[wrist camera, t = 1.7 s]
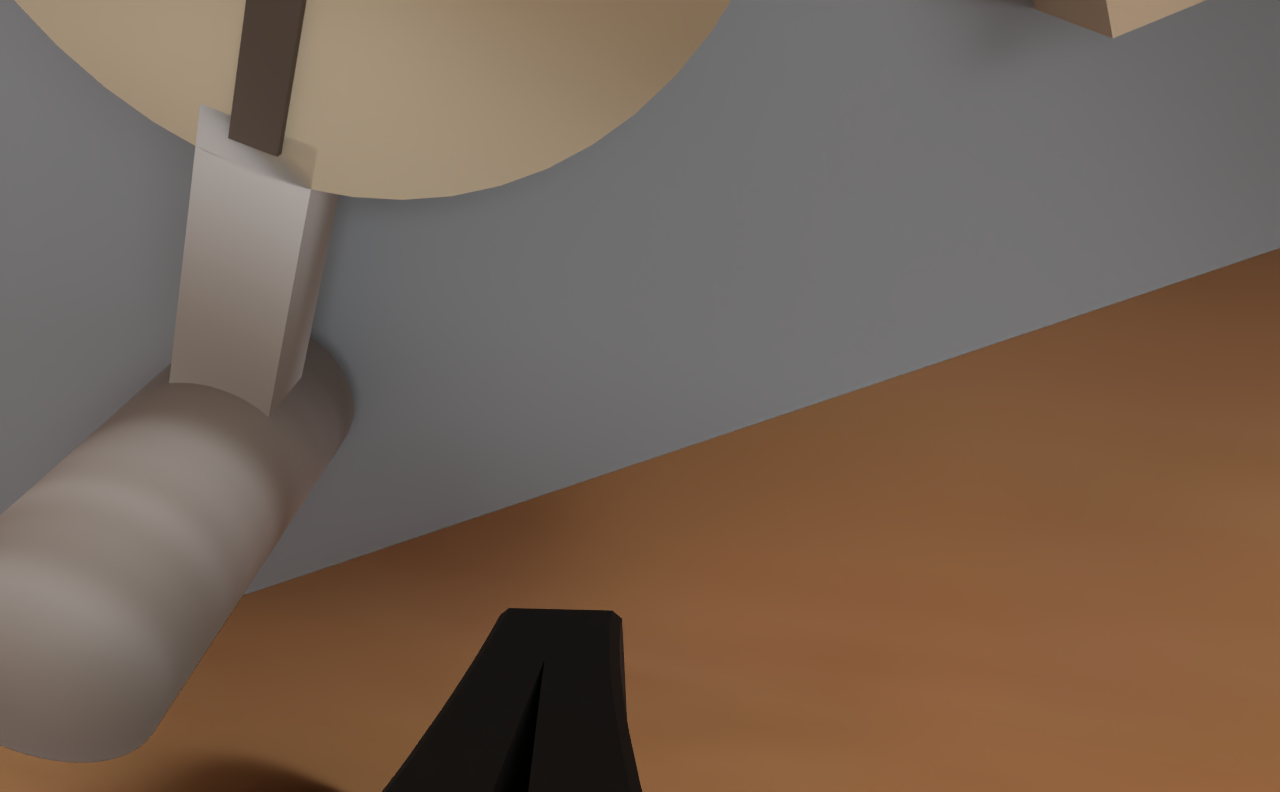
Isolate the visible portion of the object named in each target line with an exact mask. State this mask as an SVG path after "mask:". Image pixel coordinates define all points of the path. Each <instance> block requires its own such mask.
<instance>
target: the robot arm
mask: <svg viewBox="0 0 1280 792" xmlns="http://www.w3.org/2000/svg"><path fill="white" fill-rule="evenodd" d="M382 792H642V789H641V785H640V781H639V776H638V771H637V767H636V762H635V758H634V753H633V748H632V744H631V739H630V734H629V729H628V723H627V712H626V691H625V671H624V651H623V630H622V618H620V617H619V616H618V615H617V614H616V613H614V612H613V611H604V610H563V609H522V608H508V609H507V610H506V611H505V612H504V613H502V614H501V615H500V617H499V618H498V620H497V622H496V624H495V625H494V627H493V629H492V631H491V632H490V634H489V636H488V638H487V639H486V641H485V643H484V644H483V646H482V648H481V649H480V651H479V653H478V654H477V656H476V657H475V659H474V661H473V662H472V664H471V665H470V667H469V669H468V670H467V672H466V673H465V675H464V676H463V678H462V680H461V681H460V683H459V684H458V686H457V687H456V689H455V690H454V692H453V693H452V695H451V696H450V698H449V699H448V701H447V702H446V704H445V705H444V707H443V708H442V710H441V711H440V713H439V714H438V715H437V717H436V718H435V720H434V721H433V723H432V724H431V725H430V727H429V728H428V730H427V731H426V732H425V734H424V735H423V737H422V738H421V740H420V741H419V742H418V744H417V745H416V747H415V748H414V750H413V751H412V752H411V754H410V755H409V757H408V758H407V759H406V761H405V762H404V764H403V765H402V766H401V768H400V769H399V770H398V772H397V773H396V774H395V776H394V777H393V778H392V779H391V781H390V782H389V783H388V785H387V786H386V787H385V788H384V790H383V791H382Z"/></svg>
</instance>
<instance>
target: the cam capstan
mask: <svg viewBox="0 0 1280 792" xmlns="http://www.w3.org/2000/svg"><path fill="white" fill-rule="evenodd" d="M14 1H15V2H16V3H17V4H18V5H19V6H20V7H21V8H22V9H23V10H24V11H25V12H26V13H27V14H28V15H29V17H30V18H31V19H32V20H33V21H34V22H35V23H36V24H37V25H38V26H39V27H40V28H41V29H42V30H43V31H44V32H45V33H46V34H47V35H48V37H49V38H50V39H51V40H52V41H53V42H54V43H55V44H56V45H57V46H58V47H59V48H60V49H62V50H63V51H64V52H65V53H66V54H67V55H68V56H70V57H71V58H72V59H73V60H74V61H75V62H76V63H78V64H79V65H80V66H81V67H82V68H83V69H85V70H86V71H87V72H88V73H89V74H90V75H91V76H93V77H94V78H95V79H96V80H97V81H98V82H99V83H101V84H102V85H103V86H104V87H105V88H107V89H108V90H109V91H111V92H112V93H114V94H115V95H116V96H118V97H119V98H121V99H122V100H123V101H125V102H126V103H128V104H129V105H130V106H132V107H133V108H135V109H136V110H137V111H139V112H140V113H141V114H143V115H144V116H146V117H147V118H148V119H150V120H151V121H153V122H154V123H156V124H158V125H159V126H161V127H163V128H165V129H166V130H168V131H170V132H172V133H173V134H175V135H177V136H179V137H180V138H182V139H184V140H186V141H187V142H189V143H191V144H193V145H194V146H195V155H194V164H193V173H192V182H191V191H190V200H189V209H188V218H187V227H186V236H185V245H184V254H183V262H182V271H181V280H180V289H179V298H178V307H177V316H176V325H175V334H174V343H173V352H172V361H171V363H170V364H169V365H168V366H167V367H166V368H165V369H164V370H163V371H161V372H160V373H159V374H158V375H157V376H156V377H155V378H154V379H152V380H151V381H150V382H149V383H148V384H147V385H146V386H145V387H143V388H142V389H141V390H140V391H139V392H138V393H137V394H136V395H135V396H133V397H132V398H131V399H130V400H129V401H128V402H127V403H126V404H124V405H123V406H122V407H121V408H120V409H119V410H118V411H117V412H115V413H114V414H113V415H112V416H111V417H110V418H109V419H108V420H107V421H105V422H104V423H103V424H102V425H101V426H100V427H99V428H98V429H96V430H95V431H94V432H93V433H92V434H91V435H90V436H89V437H87V438H86V439H85V440H84V441H83V442H82V443H81V444H80V445H78V446H77V447H76V448H75V449H74V450H73V451H72V452H71V453H70V454H68V455H67V456H66V457H65V458H64V459H63V460H62V461H61V462H59V463H58V464H57V465H56V466H55V467H54V468H53V469H52V470H50V471H49V472H48V473H47V474H46V475H45V476H44V477H43V478H42V479H40V480H39V481H38V482H37V483H36V484H35V485H34V486H33V487H31V488H30V489H29V490H28V491H27V492H26V493H25V494H24V495H22V496H21V497H20V498H19V499H18V500H17V501H16V502H15V503H13V504H12V505H11V506H10V507H9V508H8V509H7V510H6V511H5V512H3V513H2V514H1V515H0V745H1V746H4V747H6V748H9V749H11V750H14V751H17V752H21V753H24V754H27V755H31V756H35V757H39V758H43V759H49V760H55V761H64V762H97V761H105V760H110V759H114V758H118V757H120V756H123V755H126V754H128V753H130V752H132V751H134V750H136V749H137V748H139V747H140V746H141V745H142V744H144V743H145V742H146V741H147V740H148V739H149V737H150V736H151V735H152V734H153V732H154V731H155V729H156V728H157V726H158V725H159V723H160V721H161V720H162V718H163V717H164V715H165V714H166V712H167V711H168V709H169V708H170V706H171V705H172V703H173V702H174V700H175V698H176V697H177V695H178V694H179V692H180V691H181V689H182V688H183V686H184V685H185V683H186V682H187V680H188V679H189V677H190V675H191V674H192V672H193V671H194V669H195V668H196V666H197V665H198V663H199V662H200V660H201V659H202V657H203V656H204V654H205V652H206V651H207V649H208V648H209V646H210V645H211V643H212V642H213V640H214V639H215V637H216V636H217V634H218V633H219V631H220V629H221V628H222V626H223V625H224V623H225V622H226V620H227V619H228V617H229V616H230V614H231V613H232V611H233V610H234V608H235V606H236V605H237V603H238V602H239V600H240V599H241V597H242V596H243V594H244V593H245V591H246V590H247V588H248V587H249V585H250V583H251V582H252V580H253V579H254V577H255V576H256V574H257V573H258V571H259V570H260V568H261V567H262V565H263V564H264V562H265V560H266V559H267V557H268V556H269V554H270V553H271V551H272V550H273V548H274V547H275V545H276V544H277V542H278V541H279V539H280V538H281V536H282V534H283V533H284V531H285V530H286V528H287V527H288V525H289V524H290V522H291V521H292V519H293V518H294V516H295V515H296V513H297V511H298V510H299V508H300V507H301V505H302V504H303V502H304V501H305V499H306V498H307V496H308V495H309V493H310V492H311V490H312V488H313V487H314V485H315V484H316V482H317V481H318V479H319V478H320V476H321V475H322V473H323V472H324V470H325V469H326V467H327V465H328V464H329V462H330V461H331V459H332V458H333V456H334V455H335V453H336V452H337V450H338V449H339V447H340V446H341V444H342V442H343V441H344V439H345V438H346V436H347V434H348V432H349V431H350V428H351V425H352V422H353V415H354V402H353V395H352V392H351V388H350V385H349V383H348V381H347V378H346V376H345V374H344V373H343V371H342V369H341V368H340V366H339V365H338V363H337V362H336V361H335V360H334V358H333V357H332V356H331V355H330V354H329V353H328V352H327V351H326V350H325V349H324V348H323V347H322V346H321V345H319V344H318V343H317V342H316V341H314V340H313V339H311V338H310V333H311V328H312V323H313V319H314V314H315V309H316V304H317V299H318V294H319V289H320V284H321V279H322V274H323V269H324V265H325V260H326V255H327V250H328V245H329V240H330V235H331V230H332V225H333V220H334V215H335V211H336V206H337V201H338V196H339V195H345V196H350V197H360V198H378V199H396V200H408V199H421V198H435V197H448V196H455V195H460V194H465V193H469V192H474V191H479V190H483V189H488V188H493V187H497V186H501V185H504V184H507V183H510V182H512V181H515V180H518V179H521V178H523V177H526V176H529V175H532V174H534V173H537V172H540V171H543V170H545V169H548V168H550V167H552V166H553V165H555V164H557V163H559V162H561V161H563V160H565V159H567V158H569V157H570V156H572V155H574V154H576V153H578V152H580V151H582V150H584V149H586V148H587V147H589V146H591V145H593V144H594V143H596V142H597V141H598V140H600V139H601V138H603V137H604V136H605V135H607V134H608V133H609V132H611V131H612V130H614V129H615V128H616V127H618V126H619V125H621V124H622V123H623V122H625V121H626V120H628V119H629V118H630V117H632V116H633V115H635V114H636V113H637V112H638V111H639V110H640V109H641V108H642V107H643V106H644V105H645V104H646V103H647V102H648V101H649V100H650V99H652V98H653V97H654V96H655V95H656V94H657V93H658V92H659V91H660V90H661V89H662V88H663V87H664V86H665V85H666V84H667V83H668V82H669V81H671V80H672V79H673V78H674V77H675V76H676V74H677V73H678V72H679V71H680V70H681V68H682V67H683V66H684V65H685V63H686V62H687V61H688V60H689V59H690V57H691V56H692V55H693V54H694V52H695V51H696V50H697V49H698V47H699V46H700V45H701V44H702V43H703V41H704V40H705V39H706V38H707V36H708V35H709V34H710V33H711V32H712V30H713V29H714V27H715V25H716V24H717V22H718V21H719V19H720V17H721V16H722V14H723V13H724V11H725V9H726V8H727V6H728V5H729V3H730V1H731V0H14Z"/></svg>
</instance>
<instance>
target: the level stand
mask: <svg viewBox="0 0 1280 792" xmlns="http://www.w3.org/2000/svg"><path fill="white" fill-rule="evenodd" d="M194 155H195V146H194V145H193V144H191V143H189V142H187V141H186V140H184V139H182V138H180V137H179V136H177V135H175V134H173V133H172V132H170V131H168V130H166V129H165V128H163V127H161V126H159V125H158V124H156V123H154V122H153V121H151V120H150V119H148V118H147V117H146V116H144V115H143V114H141V113H140V112H139V111H137V110H136V109H135V108H133V107H132V106H130V105H129V104H128V103H126V102H125V101H123V100H122V99H121V98H119V97H118V96H116V95H115V94H114V93H112V92H111V91H109V90H108V89H107V88H105V87H104V86H103V85H102V84H101V83H99V82H98V81H97V80H96V79H95V78H94V77H93V76H91V75H90V74H89V73H88V72H87V71H86V70H85V69H83V68H82V67H81V66H80V65H79V64H78V63H76V62H75V61H74V60H73V59H72V58H71V57H70V56H68V55H67V54H66V53H65V52H64V51H63V50H62V49H60V48H59V47H58V46H57V45H56V44H55V43H54V42H53V41H52V40H51V39H50V38H49V37H48V35H47V34H46V33H45V32H44V31H43V30H42V29H41V28H40V27H39V26H38V25H37V24H36V23H35V22H34V21H33V20H32V19H31V18H30V17H29V15H28V14H27V13H26V12H25V11H24V10H23V9H22V8H21V7H20V6H19V5H18V4H17V3H16V2H15V1H14V0H0V515H1V514H2V513H3V512H5V511H6V510H7V509H8V508H9V507H10V506H11V505H12V504H13V503H15V502H16V501H17V500H18V499H19V498H20V497H21V496H22V495H24V494H25V493H26V492H27V491H28V490H29V489H30V488H31V487H33V486H34V485H35V484H36V483H37V482H38V481H39V480H40V479H42V478H43V477H44V476H45V475H46V474H47V473H48V472H49V471H50V470H52V469H53V468H54V467H55V466H56V465H57V464H58V463H59V462H61V461H62V460H63V459H64V458H65V457H66V456H67V455H68V454H70V453H71V452H72V451H73V450H74V449H75V448H76V447H77V446H78V445H80V444H81V443H82V442H83V441H84V440H85V439H86V438H87V437H89V436H90V435H91V434H92V433H93V432H94V431H95V430H96V429H98V428H99V427H100V426H101V425H102V424H103V423H104V422H105V421H107V420H108V419H109V418H110V417H111V416H112V415H113V414H114V413H115V412H117V411H118V410H119V409H120V408H121V407H122V406H123V405H124V404H126V403H127V402H128V401H129V400H130V399H131V398H132V397H133V396H135V395H136V394H137V393H138V392H139V391H140V390H141V389H142V388H143V387H145V386H146V385H147V384H148V383H149V382H150V381H151V380H152V379H154V378H155V377H156V376H157V375H158V374H159V373H160V372H161V371H163V370H164V369H165V368H166V367H167V366H168V365H169V364H170V363H171V361H172V352H173V343H174V334H175V325H176V316H177V307H178V298H179V289H180V280H181V271H182V262H183V254H184V245H185V236H186V227H187V218H188V209H189V200H190V191H191V182H192V173H193V164H194ZM1279 248H1280V0H731V1H730V3H729V5H728V6H727V8H726V9H725V11H724V13H723V14H722V16H721V17H720V19H719V21H718V22H717V24H716V25H715V27H714V29H713V30H712V32H711V33H710V34H709V35H708V36H707V38H706V39H705V40H704V41H703V43H702V44H701V45H700V46H699V47H698V49H697V50H696V51H695V52H694V54H693V55H692V56H691V57H690V59H689V60H688V61H687V62H686V63H685V65H684V66H683V67H682V68H681V70H680V71H679V72H678V73H677V74H676V76H675V77H674V78H673V79H672V80H671V81H669V82H668V83H667V84H666V85H665V86H664V87H663V88H662V89H661V90H660V91H659V92H658V93H657V94H656V95H655V96H654V97H653V98H652V99H650V100H649V101H648V102H647V103H646V104H645V105H644V106H643V107H642V108H641V109H640V110H639V111H638V112H637V113H636V114H635V115H633V116H632V117H630V118H629V119H628V120H626V121H625V122H623V123H622V124H621V125H619V126H618V127H616V128H615V129H614V130H612V131H611V132H609V133H608V134H607V135H605V136H604V137H603V138H601V139H600V140H598V141H597V142H596V143H594V144H593V145H591V146H589V147H587V148H586V149H584V150H582V151H580V152H578V153H576V154H574V155H572V156H570V157H569V158H567V159H565V160H563V161H561V162H559V163H557V164H555V165H553V166H552V167H550V168H548V169H545V170H543V171H540V172H537V173H534V174H532V175H529V176H526V177H523V178H521V179H518V180H515V181H512V182H510V183H507V184H504V185H501V186H497V187H493V188H488V189H483V190H479V191H474V192H469V193H465V194H460V195H455V196H448V197H435V198H421V199H408V200H396V199H378V198H360V197H350V196H345V195H339V196H338V201H337V206H336V211H335V215H334V220H333V225H332V230H331V235H330V240H329V245H328V250H327V255H326V260H325V265H324V269H323V274H322V279H321V284H320V289H319V294H318V299H317V304H316V309H315V314H314V319H313V323H312V328H311V333H310V338H311V339H313V340H314V341H316V342H317V343H318V344H319V345H321V346H322V347H323V348H324V349H325V350H326V351H327V352H328V353H329V354H330V355H331V356H332V357H333V358H334V360H335V361H336V362H337V363H338V365H339V366H340V368H341V369H342V371H343V373H344V374H345V376H346V378H347V381H348V383H349V385H350V388H351V392H352V395H353V402H354V415H353V422H352V425H351V428H350V431H349V432H348V434H347V436H346V438H345V439H344V441H343V442H342V444H341V446H340V447H339V449H338V450H337V452H336V453H335V455H334V456H333V458H332V459H331V461H330V462H329V464H328V465H327V467H326V469H325V470H324V472H323V473H322V475H321V476H320V478H319V479H318V481H317V482H316V484H315V485H314V487H313V488H312V490H311V492H310V493H309V495H308V496H307V498H306V499H305V501H304V502H303V504H302V505H301V507H300V508H299V510H298V511H297V513H296V515H295V516H294V518H293V519H292V521H291V522H290V524H289V525H288V527H287V528H286V530H285V531H284V533H283V534H282V536H281V538H280V539H279V541H278V542H277V544H276V545H275V547H274V548H273V550H272V551H271V553H270V554H269V556H268V557H267V559H266V560H265V562H264V564H263V565H262V567H261V568H260V570H259V571H258V573H257V574H256V576H255V577H254V579H253V580H252V582H251V583H250V585H249V587H248V588H247V590H246V591H245V593H244V594H243V595H246V594H249V593H252V592H255V591H258V590H261V589H264V588H267V587H270V586H273V585H276V584H279V583H282V582H285V581H288V580H291V579H294V578H297V577H300V576H303V575H306V574H309V573H312V572H315V571H318V570H321V569H324V568H327V567H330V566H333V565H336V564H339V563H342V562H345V561H348V560H351V559H354V558H357V557H360V556H363V555H366V554H369V553H371V552H374V551H377V550H380V549H383V548H386V547H389V546H392V545H395V544H398V543H401V542H404V541H407V540H410V539H413V538H416V537H419V536H422V535H425V534H428V533H431V532H434V531H437V530H440V529H443V528H446V527H449V526H452V525H455V524H458V523H461V522H464V521H467V520H470V519H473V518H476V517H479V516H482V515H485V514H488V513H491V512H494V511H497V510H500V509H503V508H506V507H509V506H512V505H515V504H518V503H521V502H524V501H527V500H530V499H533V498H536V497H539V496H542V495H545V494H548V493H551V492H554V491H557V490H560V489H562V488H565V487H568V486H571V485H574V484H577V483H580V482H583V481H586V480H589V479H592V478H595V477H598V476H601V475H604V474H607V473H610V472H613V471H616V470H619V469H622V468H625V467H628V466H631V465H634V464H637V463H640V462H643V461H646V460H649V459H652V458H655V457H658V456H661V455H664V454H667V453H670V452H673V451H676V450H679V449H682V448H685V447H688V446H691V445H694V444H697V443H700V442H703V441H706V440H709V439H712V438H715V437H718V436H721V435H724V434H727V433H730V432H733V431H736V430H739V429H742V428H745V427H748V426H751V425H753V424H756V423H759V422H762V421H765V420H768V419H771V418H774V417H777V416H780V415H783V414H786V413H789V412H792V411H795V410H798V409H801V408H804V407H807V406H810V405H813V404H816V403H819V402H822V401H825V400H828V399H831V398H834V397H837V396H840V395H843V394H846V393H849V392H852V391H855V390H858V389H861V388H864V387H867V386H870V385H873V384H876V383H879V382H882V381H885V380H888V379H891V378H894V377H897V376H900V375H903V374H906V373H909V372H912V371H915V370H918V369H921V368H924V367H927V366H930V365H933V364H936V363H939V362H942V361H944V360H947V359H950V358H953V357H956V356H959V355H962V354H965V353H968V352H971V351H974V350H977V349H980V348H983V347H986V346H989V345H992V344H995V343H998V342H1001V341H1004V340H1007V339H1010V338H1013V337H1016V336H1019V335H1022V334H1025V333H1028V332H1031V331H1034V330H1037V329H1040V328H1043V327H1046V326H1049V325H1052V324H1055V323H1058V322H1061V321H1064V320H1067V319H1070V318H1073V317H1076V316H1079V315H1082V314H1085V313H1088V312H1091V311H1094V310H1097V309H1100V308H1103V307H1106V306H1109V305H1112V304H1115V303H1118V302H1121V301H1124V300H1127V299H1130V298H1133V297H1135V296H1138V295H1141V294H1144V293H1147V292H1150V291H1153V290H1156V289H1159V288H1162V287H1165V286H1168V285H1171V284H1174V283H1177V282H1180V281H1183V280H1186V279H1189V278H1192V277H1195V276H1198V275H1201V274H1204V273H1207V272H1210V271H1213V270H1216V269H1219V268H1222V267H1225V266H1228V265H1231V264H1234V263H1237V262H1240V261H1243V260H1246V259H1249V258H1252V257H1255V256H1258V255H1261V254H1264V253H1267V252H1270V251H1273V250H1276V249H1279Z"/></svg>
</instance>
